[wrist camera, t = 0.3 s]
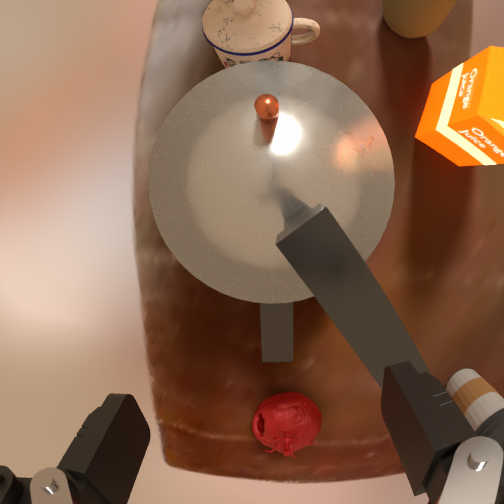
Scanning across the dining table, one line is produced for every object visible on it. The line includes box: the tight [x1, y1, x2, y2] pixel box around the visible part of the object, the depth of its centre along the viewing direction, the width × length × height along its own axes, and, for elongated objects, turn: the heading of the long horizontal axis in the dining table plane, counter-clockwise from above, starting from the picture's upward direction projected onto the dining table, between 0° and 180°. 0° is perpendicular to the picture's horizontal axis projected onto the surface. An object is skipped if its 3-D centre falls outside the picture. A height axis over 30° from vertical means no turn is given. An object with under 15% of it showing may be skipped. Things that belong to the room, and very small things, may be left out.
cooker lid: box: [148, 60, 431, 389], centre depth 19 cm, size 26×19×9 cm
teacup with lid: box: [202, 0, 320, 69], centre depth 26 cm, size 12×9×12 cm
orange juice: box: [415, 46, 504, 166], centre depth 21 cm, size 8×9×20 cm
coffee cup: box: [445, 369, 504, 444], centre depth 30 cm, size 8×8×15 cm
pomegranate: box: [252, 392, 322, 458], centre depth 37 cm, size 10×10×9 cm
